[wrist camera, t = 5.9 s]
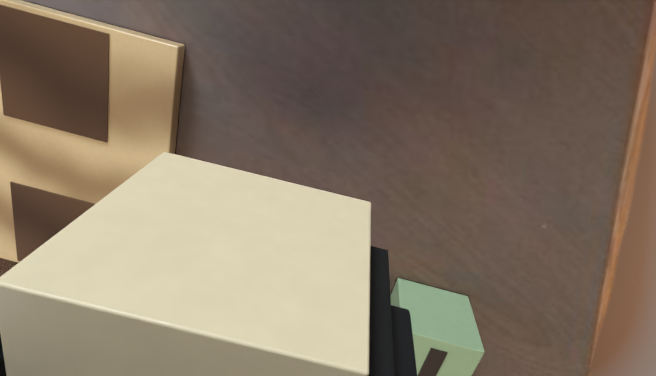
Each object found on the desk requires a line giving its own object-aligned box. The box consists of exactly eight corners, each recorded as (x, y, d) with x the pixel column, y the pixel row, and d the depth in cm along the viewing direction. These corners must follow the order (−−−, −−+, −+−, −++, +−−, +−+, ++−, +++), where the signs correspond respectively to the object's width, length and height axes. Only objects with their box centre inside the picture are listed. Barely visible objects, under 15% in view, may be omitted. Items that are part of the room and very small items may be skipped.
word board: (-59, -22, 24) (-78, -22, 23) (185, 44, 24) (177, 46, 23) (-22, 242, 32) (-35, 250, 31) (162, 290, 32) (155, 300, 31)
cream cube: (163, 150, 10) (-17, 286, 5) (371, 201, 10) (369, 380, 5) (154, 312, 12) (19, 508, 8) (325, 353, 12) (296, 575, 8)
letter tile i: (397, 277, 29) (401, 331, 25) (468, 296, 29) (485, 353, 25) (376, 330, 31) (376, 389, 27) (442, 348, 31) (453, 409, 27)
